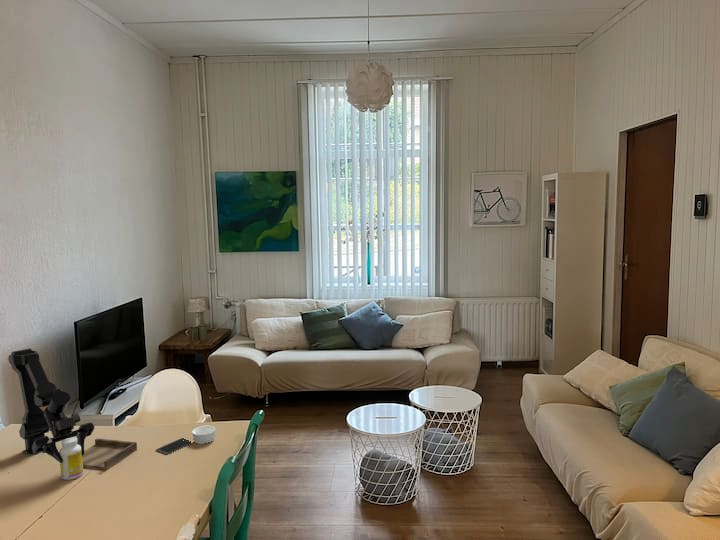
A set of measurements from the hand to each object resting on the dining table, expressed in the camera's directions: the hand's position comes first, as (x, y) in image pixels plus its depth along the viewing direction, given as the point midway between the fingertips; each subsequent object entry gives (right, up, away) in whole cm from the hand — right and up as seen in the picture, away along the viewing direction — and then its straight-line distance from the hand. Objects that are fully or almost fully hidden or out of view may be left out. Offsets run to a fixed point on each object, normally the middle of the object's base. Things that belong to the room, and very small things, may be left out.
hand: (72, 458), depth 173 cm
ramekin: (+36, -3, +28) cm, 46 cm away
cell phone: (+27, -4, +23) cm, 36 cm away
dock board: (+2, -5, +15) cm, 16 cm away
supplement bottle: (-1, -7, +2) cm, 7 cm away
